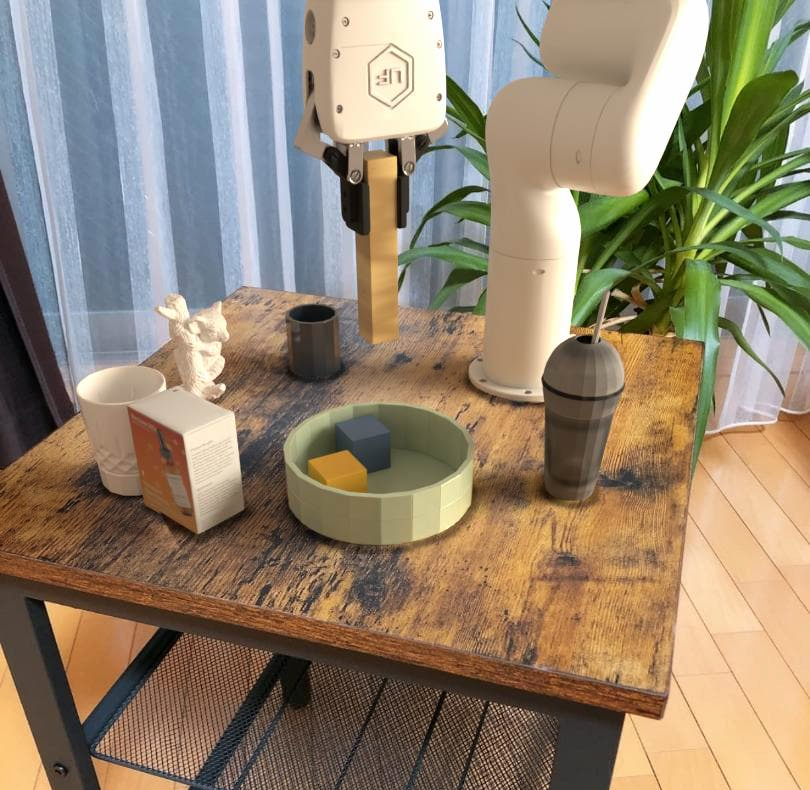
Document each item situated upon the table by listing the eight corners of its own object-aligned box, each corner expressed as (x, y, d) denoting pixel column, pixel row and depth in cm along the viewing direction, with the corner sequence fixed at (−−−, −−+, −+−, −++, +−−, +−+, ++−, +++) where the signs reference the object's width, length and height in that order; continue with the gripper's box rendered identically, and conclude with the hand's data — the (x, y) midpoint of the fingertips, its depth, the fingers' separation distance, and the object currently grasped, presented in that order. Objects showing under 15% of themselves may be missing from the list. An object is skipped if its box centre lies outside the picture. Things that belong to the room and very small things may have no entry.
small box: (144, 506, 84) (123, 404, 78) (192, 482, 88) (176, 382, 81) (198, 540, 80) (181, 435, 74) (247, 513, 83) (235, 410, 77)
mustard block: (348, 486, 86) (347, 449, 84) (368, 506, 83) (367, 469, 81) (309, 497, 84) (307, 460, 82) (328, 518, 82) (326, 480, 79)
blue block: (372, 449, 92) (371, 413, 89) (390, 467, 89) (390, 431, 86) (336, 458, 90) (334, 423, 88) (353, 477, 87) (352, 441, 85)
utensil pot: (327, 355, 111) (324, 299, 107) (349, 374, 107) (347, 317, 103) (281, 365, 109) (277, 309, 105) (302, 385, 105) (298, 327, 100)
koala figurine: (185, 418, 98) (169, 311, 91) (152, 397, 102) (134, 293, 95) (250, 393, 103) (239, 290, 96) (216, 374, 107) (203, 274, 100)
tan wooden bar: (384, 328, 81) (381, 149, 72) (398, 339, 79) (397, 156, 70) (358, 334, 80) (351, 153, 71) (372, 345, 78) (367, 160, 69)
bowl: (414, 435, 95) (415, 387, 92) (507, 516, 83) (511, 464, 80) (260, 476, 88) (255, 426, 85) (336, 572, 76) (333, 517, 73)
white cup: (160, 504, 84) (142, 408, 79) (81, 495, 86) (58, 399, 80) (193, 461, 91) (178, 369, 85) (119, 453, 92) (100, 362, 86)
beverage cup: (562, 464, 90) (586, 265, 79) (623, 493, 86) (658, 287, 75) (514, 491, 86) (532, 286, 75) (575, 523, 82) (604, 310, 70)
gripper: (283, -33, 57) (303, 258, 68) (498, -44, 63) (485, 224, 74) (239, -41, 62) (264, 230, 73) (441, -50, 68) (437, 201, 79)
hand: (375, 225), depth 73 cm, fingers closed on tan wooden bar, 2 cm apart
